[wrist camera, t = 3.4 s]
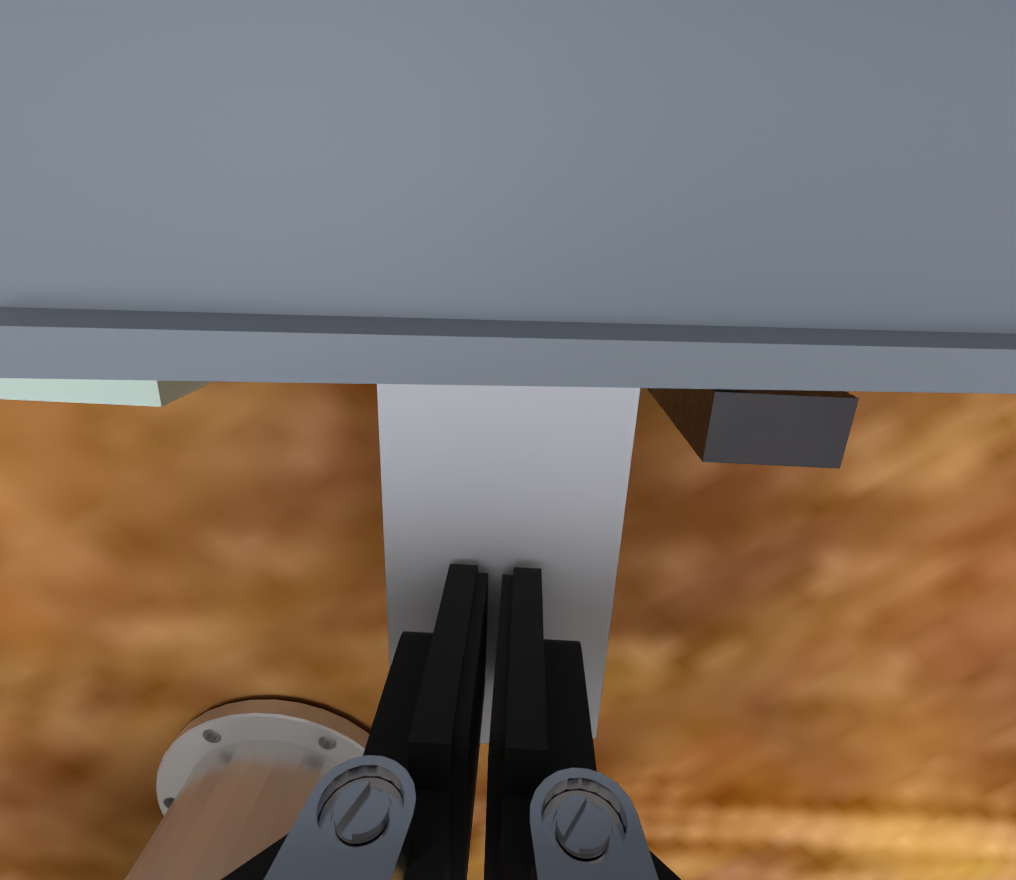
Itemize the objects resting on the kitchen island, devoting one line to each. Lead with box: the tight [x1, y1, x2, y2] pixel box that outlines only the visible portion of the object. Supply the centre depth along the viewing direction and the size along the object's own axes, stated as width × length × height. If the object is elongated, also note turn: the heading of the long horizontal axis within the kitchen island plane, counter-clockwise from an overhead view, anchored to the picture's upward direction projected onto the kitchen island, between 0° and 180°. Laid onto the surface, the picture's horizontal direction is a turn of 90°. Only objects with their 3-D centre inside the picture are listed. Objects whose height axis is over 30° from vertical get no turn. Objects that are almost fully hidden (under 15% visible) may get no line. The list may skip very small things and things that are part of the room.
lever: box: [0, 0, 1016, 743], centre depth 12 cm, size 16×30×5 cm, turn 88°
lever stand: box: [647, 388, 859, 468], centre depth 14 cm, size 13×5×9 cm, turn 178°
